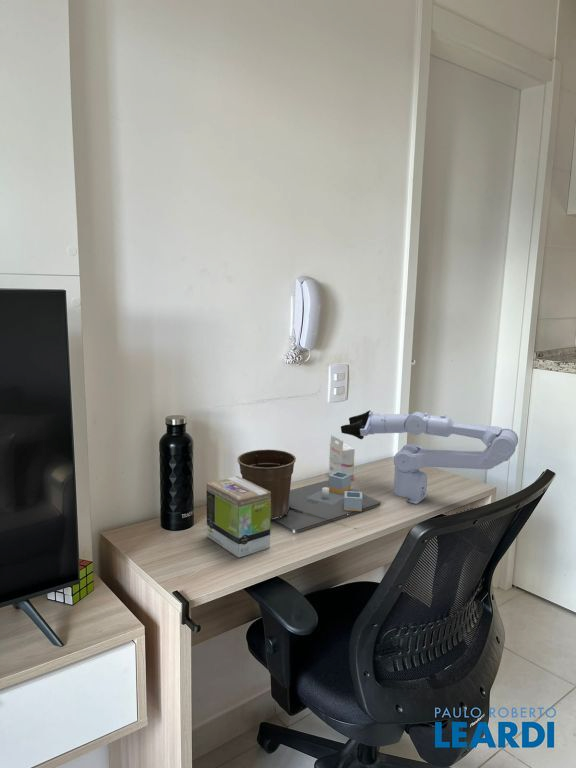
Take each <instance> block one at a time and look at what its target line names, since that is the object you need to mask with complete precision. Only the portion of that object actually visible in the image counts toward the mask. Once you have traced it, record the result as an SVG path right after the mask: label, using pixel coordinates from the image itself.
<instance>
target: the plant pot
mask: <svg viewBox="0 0 576 768" xmlns="http://www.w3.org/2000/svg"><path fill="white" fill-rule="evenodd" d="M296 460H297V458H296V456H295V455H294V454H293V453H291V452H289V451H285V450H279V449H256V450H250V451H247V452H244V453H242V454H240V455H238V457H237V463H238V464H239V473H240V474H241V478H243V479H245V480H247V481H249V482H251V483H253V484H255V485H257V486H260V487H262V488H264V489H266V490H268V491H270V492H271V516H270V521H272V520H271V519H272V518H275V517H280V516H283V517H284V516H286V515H285V514H286V513H287V512H289V506H290V496H291V495H290V491H291V484H292V477H293V476H292V475H293V473H294V466H295V463H296ZM287 514H288V513H287Z"/></svg>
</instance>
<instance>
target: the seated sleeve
mask: <svg viewBox="0 0 576 768" xmlns="http://www.w3.org/2000/svg"><path fill="white" fill-rule="evenodd" d="M327 482H328V486H327V487H328V488H329V491H331V492H335V493H338V494H344V493H345V491H349V490H351V489H352V488H351V487H352V486H351V485H352V480H351V474H347V473H343V472H339V471H336V472H334V473H332V474H328V481H327Z"/></svg>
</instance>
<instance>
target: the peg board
mask: <svg viewBox="0 0 576 768" xmlns="http://www.w3.org/2000/svg"><path fill="white" fill-rule="evenodd" d="M349 491H353V492H359V491H358V490H357V489H353V488H351V490H349ZM344 497H345V493H344V494H338V493H335V492H331V491H329V488H328V486H325V487H322V488H321V490H318V491H317V492H314V493H313V494H311V495H309V496H307V497H306V499H308V500H311V501H315V502H319V503H322V504H326V505H329V506H333V505H335V504H337V503H338V502H341V501H343V500H344Z"/></svg>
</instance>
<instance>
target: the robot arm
mask: <svg viewBox="0 0 576 768" xmlns="http://www.w3.org/2000/svg"><path fill="white" fill-rule="evenodd" d="M348 421H349V424H348V423H347V424H343V425H342V426H340V431H341V434H344V435H350V436H353V437H355V438H357V439H359V440H363V439H364V438H365V437H366V436H368V435H375V434H376V435H377V434H404V433H409V434H412V435H414V436H419V435H421V434H425V435H431V436H438V437H443V438H449V437H450V436H451V435H457V436H463V437H469V438H474V439H479V440H480V441H481V442H482V443H483V444H484V445H485V446H486V447H485V449H483V451H479V450H449V449H428V448H426V447H424V446H423V447H422V446H417V445H416V444H413V443H407V444H404V446H402V448H401V449H400V451H397V452H396V453H395V454H394V456H393V465H394V478H393V479H394V481H393V494H394V495H396V496H397V497H402V498H408V499H407V500H406V502H407V503H411V504H415V505H418V504H419V503H420V502H421V501H423V500H424V499H426V498H427V497H428V495H427V488H428V485H427V484H428V475H427V473H426V472H424V471H421V470H420V469H424V468H427V467H430V468H445V469H446V468H449V469H451V468H452V469H465V470H466V469H467V470H468V469H471V470H491V469H493V468H495V467H497V466H499V465H500V464H502V463H504V462H507V461H509V460H510V458H511V457H512V456H513V455H514V454H515V452H516V447H517V445H519V444H518V443H519V437H518V434H517V433H516V432H515V431H514V430H512V429H510V428H502V427H500V426H494V425H493V426H492V425H484V424H483V425H482V424H474V423H473V424H472V423H461V422H454V420H452V418H451V417H447V414H446V415H445V414H441V415H440V416H439V415H433V414H429V413H428V412H425V413H423V412H420V411H418V410H417V411H414V412H412V413H411V414H410V413H407V414H406V413H405V414H403V413H392V414H391V413H390V414H380V413H374V411H371V409H370V410H367V411H366V412H364V413H360V414H358V415H355V416H351V417H349V418H348Z"/></svg>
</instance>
